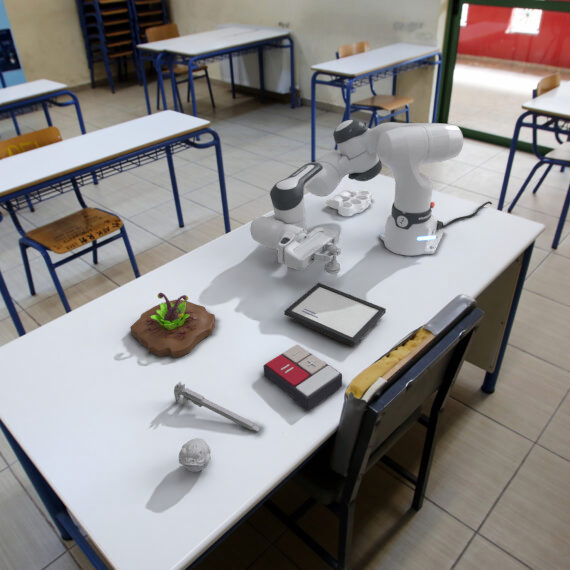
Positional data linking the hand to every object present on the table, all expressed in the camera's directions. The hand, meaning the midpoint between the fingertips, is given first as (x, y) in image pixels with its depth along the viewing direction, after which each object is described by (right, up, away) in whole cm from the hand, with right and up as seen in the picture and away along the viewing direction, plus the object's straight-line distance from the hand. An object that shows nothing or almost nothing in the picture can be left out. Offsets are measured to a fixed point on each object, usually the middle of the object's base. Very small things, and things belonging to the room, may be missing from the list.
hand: (335, 255), depth 141 cm
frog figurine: (-32, -44, -44) cm, 70 cm away
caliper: (-29, -36, -34) cm, 58 cm away
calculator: (-10, -30, -26) cm, 41 cm away
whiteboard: (-1, -18, -8) cm, 19 cm away
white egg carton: (+11, +21, +48) cm, 54 cm away
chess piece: (-1, -4, +3) cm, 5 cm away
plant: (-44, -20, -10) cm, 49 cm away
